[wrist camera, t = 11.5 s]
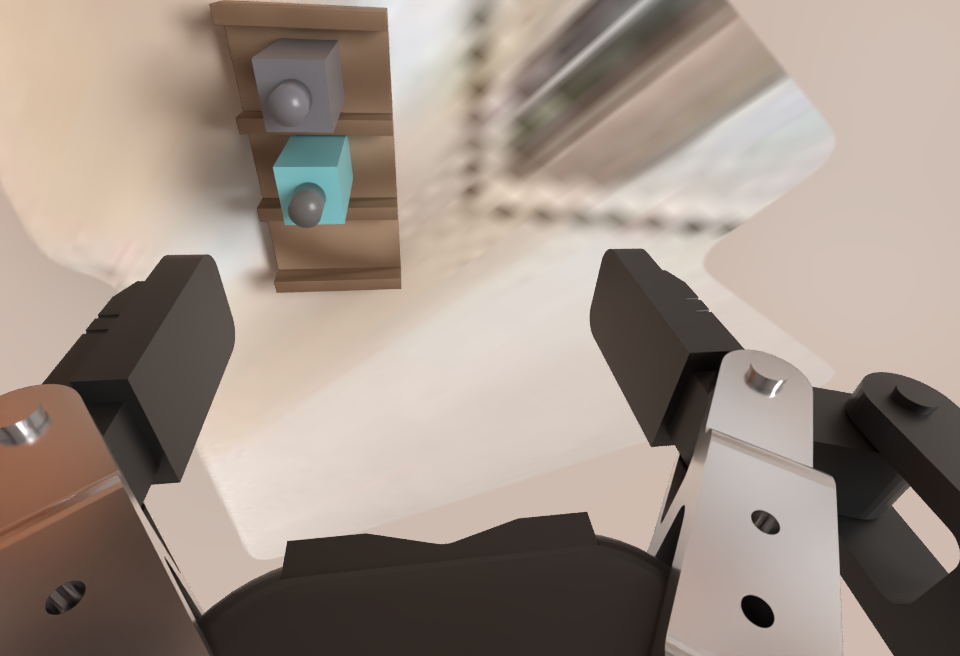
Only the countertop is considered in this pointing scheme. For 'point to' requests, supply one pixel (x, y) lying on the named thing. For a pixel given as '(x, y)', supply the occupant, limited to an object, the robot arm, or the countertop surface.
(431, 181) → the countertop surface
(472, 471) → the countertop surface
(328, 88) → the charcoal plug
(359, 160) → the wooden slotted rack
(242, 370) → the countertop surface
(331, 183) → the teal plug
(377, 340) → the countertop surface
